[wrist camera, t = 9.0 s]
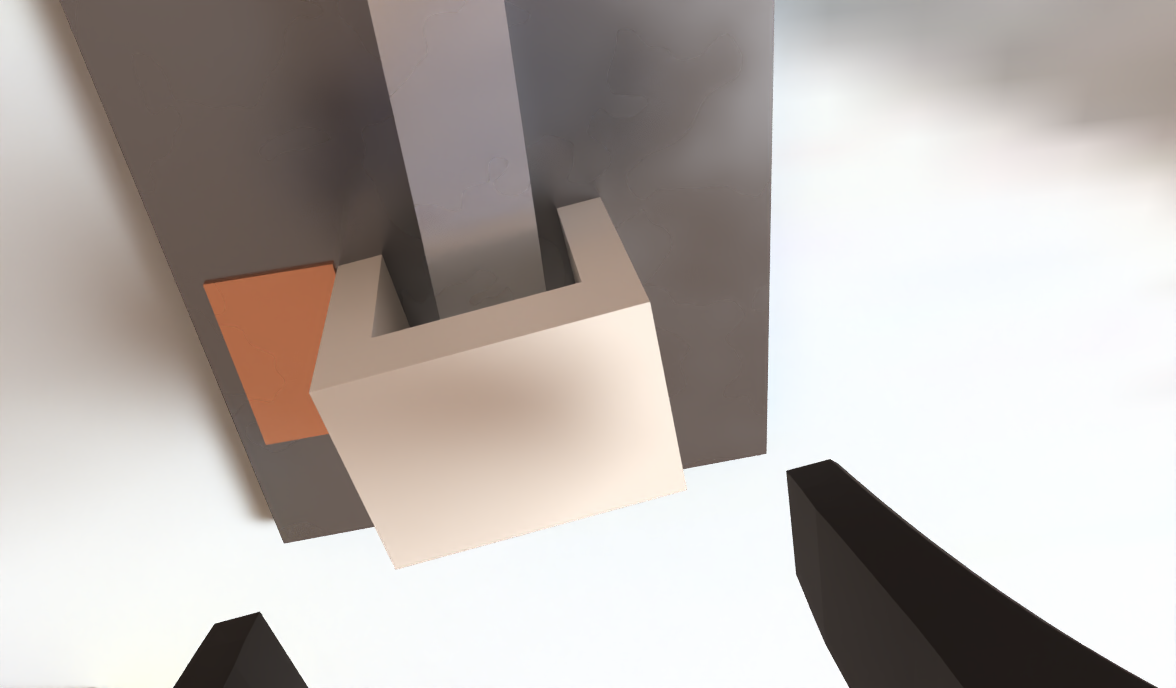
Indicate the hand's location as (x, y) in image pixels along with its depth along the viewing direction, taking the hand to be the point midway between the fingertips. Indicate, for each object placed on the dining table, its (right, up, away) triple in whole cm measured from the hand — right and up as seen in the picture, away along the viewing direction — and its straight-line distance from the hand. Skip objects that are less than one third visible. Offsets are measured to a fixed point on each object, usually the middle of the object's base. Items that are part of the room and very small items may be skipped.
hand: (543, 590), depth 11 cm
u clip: (-1, +4, +6) cm, 8 cm away
